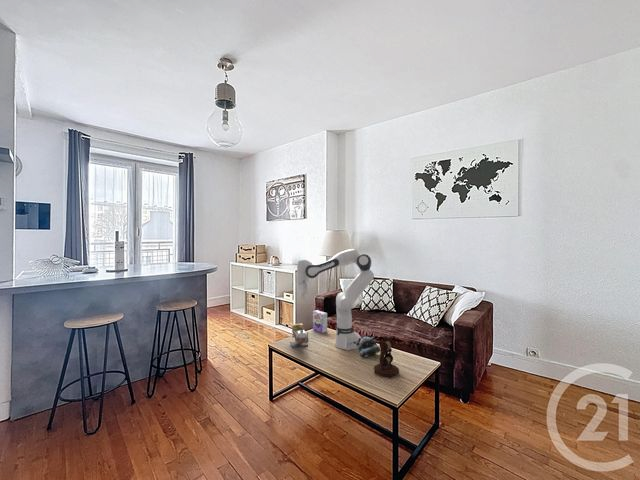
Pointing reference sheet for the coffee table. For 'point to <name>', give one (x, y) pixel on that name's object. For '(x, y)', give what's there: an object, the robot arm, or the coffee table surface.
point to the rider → (301, 334)
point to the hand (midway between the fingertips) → (303, 297)
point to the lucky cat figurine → (367, 346)
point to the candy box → (320, 321)
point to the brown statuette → (386, 360)
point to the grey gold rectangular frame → (298, 342)
